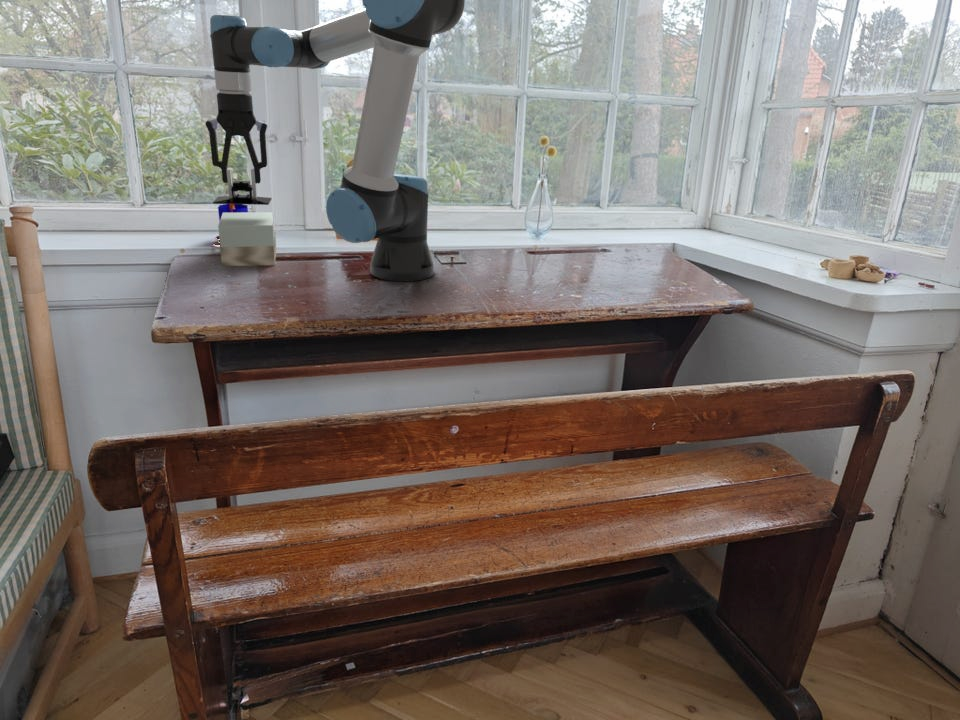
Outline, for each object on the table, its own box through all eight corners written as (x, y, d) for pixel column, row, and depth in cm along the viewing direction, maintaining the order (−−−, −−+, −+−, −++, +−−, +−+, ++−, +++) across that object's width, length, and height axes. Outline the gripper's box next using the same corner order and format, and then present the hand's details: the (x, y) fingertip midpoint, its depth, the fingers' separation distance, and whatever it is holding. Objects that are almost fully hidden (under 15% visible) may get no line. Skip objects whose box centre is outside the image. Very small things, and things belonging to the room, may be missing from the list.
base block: (276, 250, 172) (275, 231, 170) (274, 266, 159) (273, 246, 157) (227, 251, 169) (225, 232, 167) (222, 267, 156) (219, 246, 154)
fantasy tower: (215, 237, 181) (210, 192, 176) (260, 236, 184) (257, 193, 179) (210, 248, 170) (204, 201, 165) (258, 247, 173) (254, 201, 168)
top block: (274, 231, 170) (272, 212, 168) (274, 246, 157) (272, 225, 155) (224, 232, 167) (222, 212, 165) (220, 247, 154) (218, 225, 152)
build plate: (212, 203, 153) (210, 183, 151) (218, 197, 160) (216, 178, 158) (268, 204, 155) (267, 185, 154) (271, 198, 162) (270, 179, 160)
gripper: (275, 93, 154) (282, 194, 164) (194, 89, 150) (205, 193, 159) (274, 95, 148) (281, 200, 157) (189, 91, 143) (201, 199, 153)
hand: (243, 196), depth 158 cm, fingers closed on build plate, 5 cm apart
